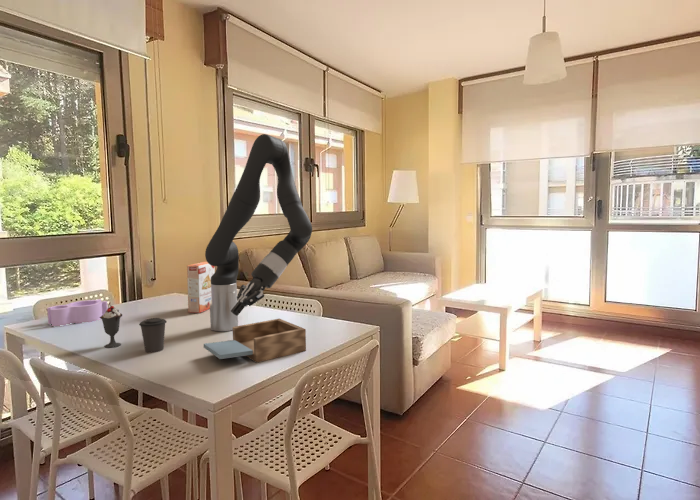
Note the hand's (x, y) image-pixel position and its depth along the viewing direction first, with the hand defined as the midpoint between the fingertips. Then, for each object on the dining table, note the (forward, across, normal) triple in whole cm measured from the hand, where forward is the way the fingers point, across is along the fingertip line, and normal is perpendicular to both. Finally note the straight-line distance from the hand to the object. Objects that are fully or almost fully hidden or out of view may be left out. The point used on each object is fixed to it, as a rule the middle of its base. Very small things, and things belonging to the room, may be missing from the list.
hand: (233, 313), depth 132 cm
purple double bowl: (+33, -81, -12) cm, 89 cm away
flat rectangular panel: (+6, 0, +10) cm, 12 cm away
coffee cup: (+22, -23, -3) cm, 32 cm away
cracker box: (0, -68, +20) cm, 71 cm away
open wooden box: (+1, 0, +18) cm, 18 cm away
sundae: (+29, -36, -9) cm, 47 cm away
